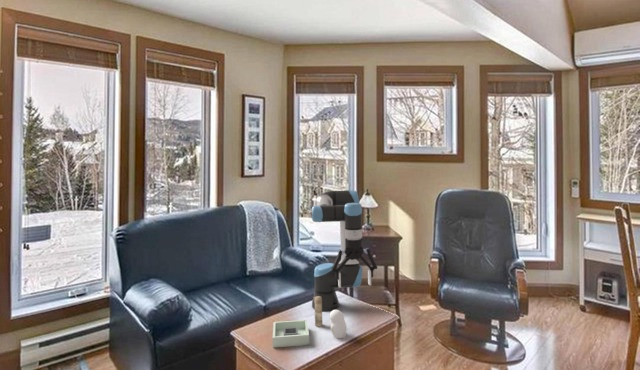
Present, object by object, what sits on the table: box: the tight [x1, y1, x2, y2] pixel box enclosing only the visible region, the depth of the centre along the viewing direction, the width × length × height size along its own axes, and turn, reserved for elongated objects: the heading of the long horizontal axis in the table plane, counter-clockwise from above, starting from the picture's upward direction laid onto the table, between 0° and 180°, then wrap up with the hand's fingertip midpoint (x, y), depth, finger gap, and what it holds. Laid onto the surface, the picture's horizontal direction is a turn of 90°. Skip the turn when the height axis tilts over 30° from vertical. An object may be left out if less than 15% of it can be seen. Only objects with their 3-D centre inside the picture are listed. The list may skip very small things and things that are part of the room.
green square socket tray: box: [272, 319, 310, 349], centre depth 168 cm, size 16×16×4 cm
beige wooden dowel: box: [313, 296, 323, 328], centre depth 180 cm, size 4×4×14 cm
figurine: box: [329, 309, 347, 339], centre depth 169 cm, size 7×8×12 cm
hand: (354, 285), depth 162 cm, fingers open, 13 cm apart
